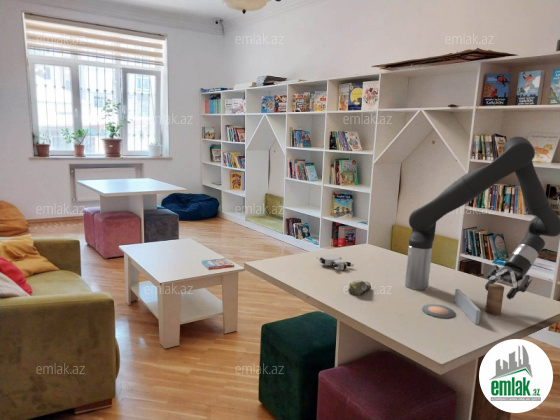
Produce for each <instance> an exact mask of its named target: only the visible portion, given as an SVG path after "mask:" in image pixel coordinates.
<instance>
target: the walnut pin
mask: <svg viewBox="0 0 560 420" xmlns="http://www.w3.org/2000/svg"><path fill="white" fill-rule="evenodd" d="M504 293H505V286H503V285H502V284H499V283H498V284H497V283H494V284H489V286H488V291H487V295H486V303H485V309H484V311H485V313H486V314H489V315H491V316H501V313H502V308H503V307H502V306H503V300H504Z"/></svg>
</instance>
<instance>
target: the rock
mask: <svg viewBox="0 0 560 420" xmlns="http://www.w3.org/2000/svg"><path fill="white" fill-rule="evenodd" d="M370 289H372V284H371V283H370V282H369V281H368V280H365V281H363V280H359V279H358V280H353V281H352V282H350V283H349V287H348V292H349V294H351V295H352V296H353V295H354V296H361V295H362V294H364V293H365V292H366V291H368V290H370Z"/></svg>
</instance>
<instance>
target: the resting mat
mask: <svg viewBox="0 0 560 420" xmlns="http://www.w3.org/2000/svg"><path fill="white" fill-rule="evenodd" d="M421 311H422V312H423V313H424V314H426V315H428V316H431V317H433V318H438V319H451V318H454V317H456V312H455V311H454V309H452V308H450V307H448V306H445V305H441V304H435V303H434V304H432V303H431V304H430V303H428V304H424V305H422V308H421Z"/></svg>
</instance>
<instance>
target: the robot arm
mask: <svg viewBox="0 0 560 420" xmlns="http://www.w3.org/2000/svg"><path fill="white" fill-rule="evenodd" d="M535 154H536V151H535V147H534V146H533V145H532V143H531V142H530V141H529V140H528V139H526V138H525V137H523V136H513V137H510V138H509V139H508V140H506V142H505V143H504V145H503V148H502V153H501V154H500V155H499V156H497V157H496V158H495V159H494V160H492V161H491V162H489V163H488V164H486V165H484V166H481V167H478V168H476V169H473V170H471V171H469V172H467V173H465V174H464V175H462V176H461V177H459V178H458V179H457V180H455V181H454V182H453V183H451V184H450V185H449V186H448V187H447V188H445V189H444V190H443V191H442V192H441V193H440V194H439V195H438V196H436V197H435V198H434V199H432V200H431V201H429V202H428V203H426V204H424V205H422V206H421V207H419V208H417V209H414V210H413V211H412V212H411V213H410V215H409V218H408V224H409V226H410V228H411V234H410V237H409V239H408V249H407V250H408V251H407V258H406V259H407V260H406V272H405V283H404V285H405V287H408V288H410V289H413V290H419V291H420V290H423V291H424V290H428V289H429V285H430V283H429V282H430V274H431V263H432V254H433V252H432V251H433V244H434V241H435V237H436V235H435V234H436V227H437V222H438V221H439V220H440V219H442V218H443V217H444V216H446V215H447V214H449V213H451V212H453V211H455V210H457V209H459V208H461V207H463V206H464V205H466V204H468V203H469V202H471V201H473V200H474V199H476V198H477V197H479V196H480V195H481V194H483V193H484V192H485V191H488V189H489V188H491V187H493V186H495V184H497V183H499V181H501V180H503V179H504V178H506V177H507V176H509V175H512V174H513V173H515V176H516V178H517V182H518V184H519V187H520V190H521V193H522V194H521V195H522V197H523V200H524V202H525V206H526V207H527V211H528V212H529V214H530V215H532V216H535V217H534V218H532V219H531V220H530V221H529V223H528V225H527V229H526V232H525V236H524V238H523V239H522V240H521V242H520V243H519V244H518V246H517V247H515V249H514V250H513V251H512V253H511V254H510V255H509V257H508V258H507V260H506V261H505V263H504V265H503V266H502V267H500V266H498V265H497V264H494V265H493V266H492V267H491V268H490V270H489V271H488V272H487V274H486V275H485V276H486V278H487V280H488V281H487V282H486V284H485V285H484V288H485V290H486V291H487V292H488V286H489V284H497V283H498V282H499V283H501V282H506V283H509V284H512V286H513V287H511V288H510V289H509V291H508V292H507V293H506V298H507V299H508V300H511V299H514V298H515V296H516V295H517V293H519V292H521V293H526V291H527V289H528V287H529V286H530V284H531V283H532V281H533V280H532V278H531V276H530V274H528V271H530V269H531V268H532V266H533V265H534V263H536V262H535V261H536V260H537V258H538V257H539V255H540V253H541V252H542V251H543V249H544V248H545V245H546V241H545V240H544V239H543V238H542V237H541V236H544V237H552V238H553V237H557V236H560V217H559V216H558V214H557V213H556V211H555V210H554V208H553V207H552V206H551V205H550V202H549V199H548V196H547V195H546V191H545V189H544V187H543V185H542V183H541V180H540V179H539V176H538V174H537V172H536V169H535V165H534V162H533V160H534V158H535ZM519 281H521V283H520V284H519Z"/></svg>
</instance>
